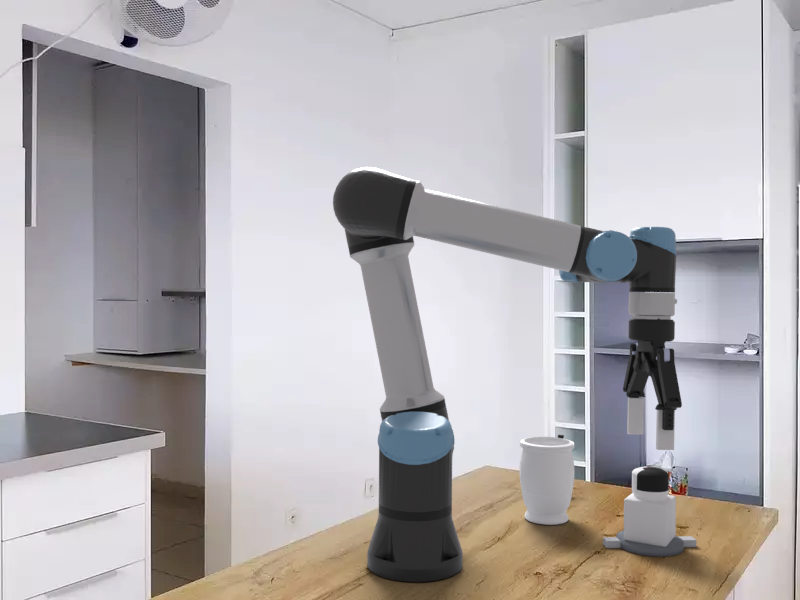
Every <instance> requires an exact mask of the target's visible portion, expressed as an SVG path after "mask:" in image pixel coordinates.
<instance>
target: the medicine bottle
mask: <svg viewBox="0 0 800 600" xmlns="http://www.w3.org/2000/svg"><path fill="white" fill-rule="evenodd" d="M669 481H670V474H669V473H668V471H666V470H664V469H662V468H660V467H653V466H639V467H636V468H634V469H633V470H631V493H630V494H629V495H628V496H627V497H625V498H624V500H623V531H624V540H626V541H632V542H638V543H643V544H649V545H655V546H661V547H666V546H667V545H668V544H669V543H670V542H671V540H672V539H673V538H674V537H675V535H676V526H677V524H676V513H677V512H676V510H677V507H676V506H677V505H676V504H677V500H676V499H677V498H676V496H675V495H672V494H669V493H670V490H669V489H670V482H669Z"/></svg>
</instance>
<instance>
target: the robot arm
mask: <svg viewBox="0 0 800 600" xmlns="http://www.w3.org/2000/svg"><path fill="white" fill-rule="evenodd" d="M332 205H333V206H332V207H333V212H334V214H335V215H334V216H335V217H336V219H337V221H338V223H340V225H341V226H342V228H343V229H344V232H345V239H346V243H347V247H348V253H349V258H351V259H352V260H354V261H355V262H356V263H358V265H359V266H360V270H361V275H362V281H363V285H364V290H365V296H366V301H367V305H368V311H369V316H370V320H371V321H370V322H371V326H372V331H373V336H374V341H375V345H376V346H375V347H376V352H377V357H378V361H379V362H378V363H379V367H380V373H381V378H382V384H383V388H384V393H385V400H384V401H383V402H382V405H381V406H380V407H379V411H380V412H379V413H380V419H381V423H380V425H379V429H378V430H379V433H378V436H377V445H378V515H377V516H378V518H377V521H376V523H375V526H374V530H373V532H372V535H371V539H370V542H369V545H368V548H367V552H366V553H367V554H366V555H367V557H366V558H367V561H366V562H367V563H366V565H367V568H368V570H369V571H371V572H372V573H374V574H375V575H377V576H379V577H381V578H385V579H389V580H393V581H400V582H413V583H416V582H417V583H419V582H433V581H440V580H444V579H447V578H450V577H453V576H455V575H457V574H458V573H460V572H461V571H462V569H463V564H464V562H463V560H464V559H463V558H464V557H463V556H464V555H463V549H462V546H461V542H460V539H459V536H458V533H457V530H456V527H455V523H454V520H453V513H452V512H453V510H452V509H453V456H454V455H453V454H454V450H455V434H454V433H455V432H454V430H453V427H452V424H451V422H450V419H449V414H448V409H447V405H446V399H445V395H443V394H442V393H441V392H440V391H438V390H437V389H435V387H434V383H433V377H432V372H431V367H430V362H429V361H430V360H429V357H428V352H427V348H426V347H427V346H426V341H425V335H424V331H423V326H422V322H421V321H422V320H421V316H420V311H419V310H420V309H419V305H418V301H417V295H416V290H415V286H414V281H413V280H414V279H413V274H412V270H411V265H410V259H409V254H410V253H411V251H412V249H413V248H414V246H415V241H414V237H419V238H422V239H427V240H431V241H436V242H439V243H443V244H448V245H452V246H457V247H461V248H465V249H468V250H472V251H477V252H480V253H481V252H482V253H485V254H490V255H494V256H497V257H498V256H500V257H503V258H507V259H511V260H515V261H519V262H520V261H521V262H524V263H528V264H533V265H537V266H541V267H545V268H548V269H554V270H557V271H558V273H559V277H560V278H561V280H562V281H563V282H570V283H572V282H573V283H578V284H581V283H622V284H623V283H624V284H625V283H628V284H629V291H628V292H629V293H628V315H629V316H631V318H629V320H628V339H629V340H631V341H637V342H636V343H635V342H634V343H630V345H629V357H628V361H627V367H626V372H625V377H624V381H623V385H622V391H623V392H624V393H626V397H627V414H626V415H627V417H626V418H627V421H626V422H627V423H626V424H627V425H626V426H627V427H626V433H627V435H644V423H645V422H644V420H645V419H644V418H645V417H644V416H645V415H644V412H645V410H644V409H645V398H646V393H645V391H644V390H645V388H646V385H647V381H648V379H649V377H650V378H651V381H652V385H653V389H654V392H655V395H656V396H655V397H656V400H657V402H658V403H657V404H656V406H655V409H654V410H656V423H655V424H656V428H655V429H656V430H655V431H656V432H655V433H656V434H655V435H656V436H655V449H656V450H657V451H674V450H675V423H676V421H675V419H676V418H675V416H676V415H675V413H676V410H677V409H679V408H681V409H682V407H683V404H682V398H681V397H682V396H681V391H680V386H679V385H680V384H679V380H678V374H677V368H676V364H675V363H676V362H675V349H674V348H669V347H668V348H667V347H666V345H665V344H666V343H667V342H672V341H674V340H675V338H676V337H675V334H676V332H675V331H676V330H675V329H676V328H675V325H676V322H675V321H674V319H672V317H674V316H675V310H676V308H675V305H676V304H678V299H677V298H676V270H677V269H676V268H677V256H678V254H677V240H676V239H677V237H676V232H675V231H674V230H673V229H672V228H670V227H665V226H641V227H640V226H639V227H634V228H631V231H630V232H629V233H630V234H629V236H628V235H627V234H625V233H623V232H620V231H617V230H616V231H615V230H611V229H610V230H600V229H596V228H590V227H588V226H587V227H586V226H581V225H579V224H574V223H571V222H567V221H566V222H565V221H561V220H558V219H555V218H549V217H545V216H541V215H536V214H532V213H529V212H524V211H519V210H517V209H515V210H514V209H511V208H507V207H502V206H498V205H494V204H489V203H485V202H481V201H477V200H473V199H468V198H465V197H464V198H463V197H460V196H455V195H451V194H448V193H443V192H440V191H434V190H432V189H431V190H430V189H426V188H425V187H424V185H423V184H422V182H421V181H420V180H416V179H412V178H407V177H405V176H401V175H398V174H395V173H392V172H389V171H387V170H384V169H382V168H381V169H380V168H377V167H373V166H372V167H371V166H369V167H368V166H364V167H360V168H355V169H353V170H352V171H350V172H348V173H346V174H345V175H344V176H343V177H342V178H341V179H340V180H339V182H338V183H337V185H336V186H335V189H334V192H333V197H332Z"/></svg>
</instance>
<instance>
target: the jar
mask: <svg viewBox="0 0 800 600" xmlns="http://www.w3.org/2000/svg"><path fill="white" fill-rule="evenodd" d="M519 447H521V448H522V450H521V451H522V452H521V455H520V459H519V460H520V461H519V470H518V471H519V472H518V473H519V482H520V488H521V495H522V500H523V501H522V502H523V503H524V506H525V508H526V511H525V514H524V519H526V521H528V522H529V523H530V522H531V523H532V524H533V523H534V524H537V525H547V526H553V525H554V526H555V525H562V524H565V523H567V522H568V521H569V516H568V514H567V510H569V507H570V504H571V501H572V495H573V489H574V483H575V459H574V457H573V453H572V451H573V450H574V449H575V442H574V441H572V440H570V439H567V438H563V439H562V438H558V437H554V436H533V437H531V436H530V437H524V438H522V439H520V440H519Z"/></svg>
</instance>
